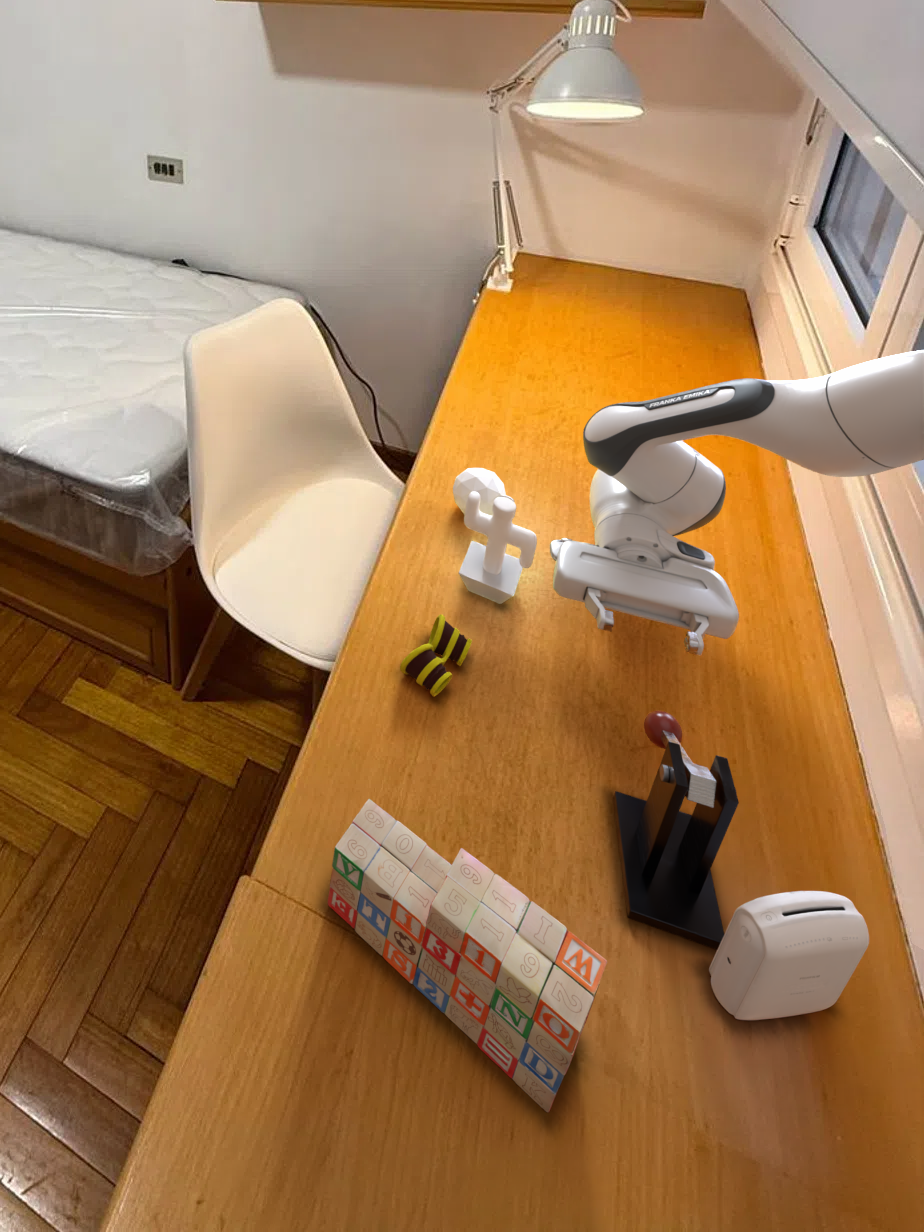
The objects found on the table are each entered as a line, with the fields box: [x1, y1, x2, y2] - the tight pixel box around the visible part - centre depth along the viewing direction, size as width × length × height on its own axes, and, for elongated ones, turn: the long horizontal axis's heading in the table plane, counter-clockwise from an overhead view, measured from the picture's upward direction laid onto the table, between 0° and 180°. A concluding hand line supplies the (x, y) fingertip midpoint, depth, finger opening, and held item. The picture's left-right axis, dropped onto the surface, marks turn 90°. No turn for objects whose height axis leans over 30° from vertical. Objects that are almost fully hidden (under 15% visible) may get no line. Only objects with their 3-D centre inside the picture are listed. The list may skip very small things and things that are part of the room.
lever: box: [643, 710, 717, 808], centre depth 84 cm, size 15×4×4 cm, turn 161°
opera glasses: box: [399, 613, 473, 698], centre depth 103 cm, size 10×5×5 cm, turn 137°
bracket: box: [612, 741, 740, 951], centre depth 80 cm, size 12×8×15 cm, turn 160°
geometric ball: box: [452, 467, 507, 516], centre depth 128 cm, size 8×8×8 cm
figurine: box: [458, 491, 538, 605], centre depth 113 cm, size 7×9×15 cm
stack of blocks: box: [327, 798, 608, 1113], centre depth 73 cm, size 21×6×12 cm, turn 47°
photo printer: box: [708, 890, 870, 1021], centre depth 72 cm, size 10×4×12 cm, turn 96°
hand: (650, 638), depth 98 cm, fingers open, 8 cm apart
